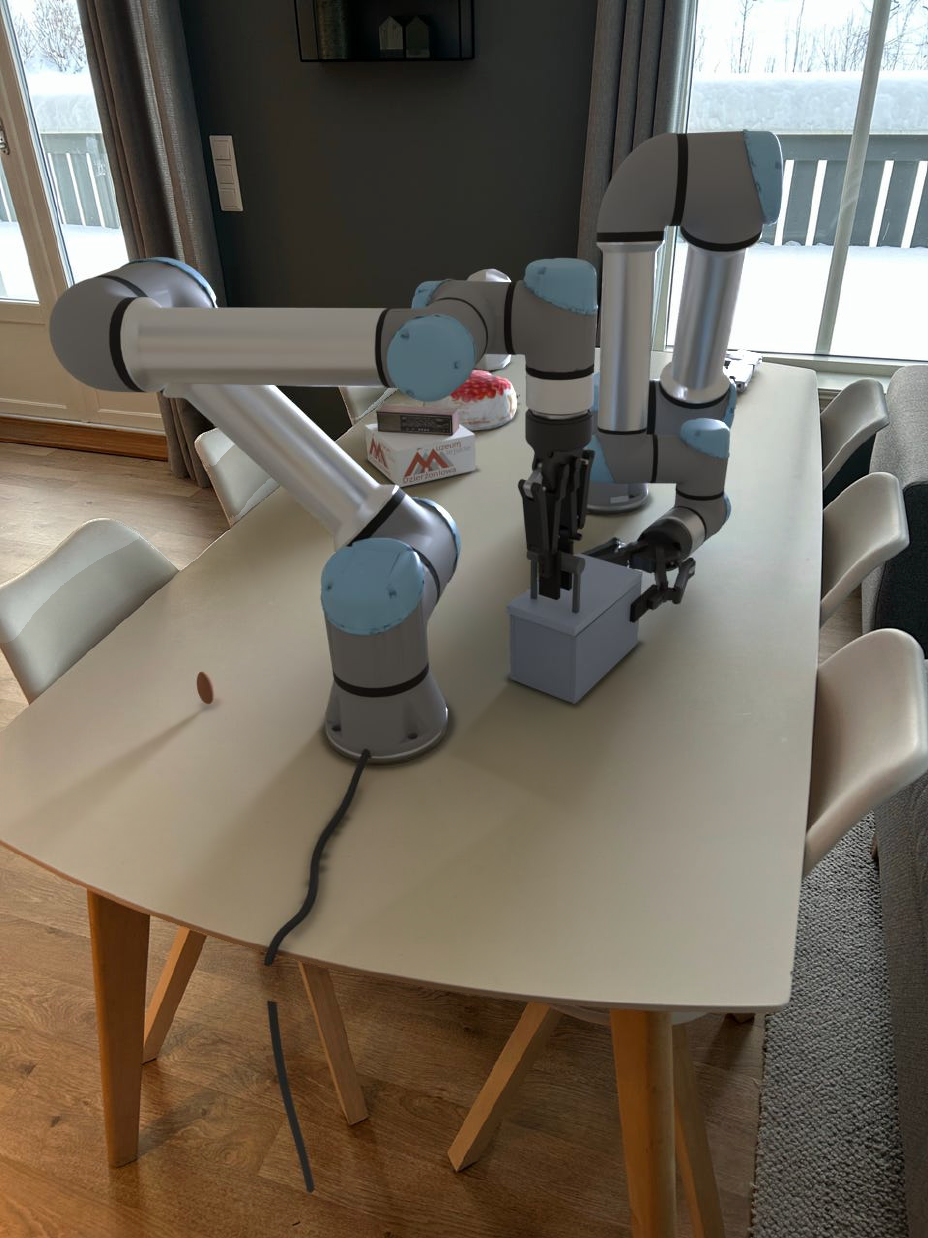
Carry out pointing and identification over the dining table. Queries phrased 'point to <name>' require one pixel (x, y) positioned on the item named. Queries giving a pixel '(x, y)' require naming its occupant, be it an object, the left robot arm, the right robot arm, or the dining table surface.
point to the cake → (481, 401)
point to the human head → (491, 360)
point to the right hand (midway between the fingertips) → (597, 602)
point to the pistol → (741, 367)
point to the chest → (572, 650)
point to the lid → (575, 593)
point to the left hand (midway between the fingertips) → (555, 591)
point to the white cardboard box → (419, 443)
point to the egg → (205, 687)
